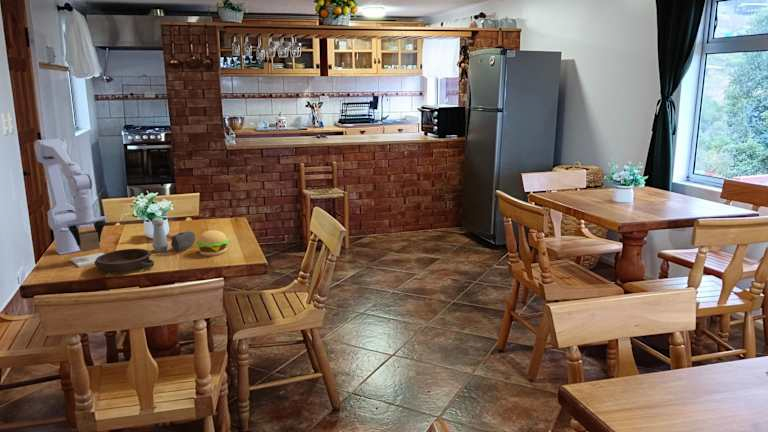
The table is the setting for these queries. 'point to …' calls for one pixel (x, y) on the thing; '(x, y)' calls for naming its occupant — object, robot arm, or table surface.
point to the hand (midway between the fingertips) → (88, 243)
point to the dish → (124, 261)
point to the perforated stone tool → (182, 241)
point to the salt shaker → (159, 235)
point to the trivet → (86, 260)
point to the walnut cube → (89, 240)
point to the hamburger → (212, 243)
